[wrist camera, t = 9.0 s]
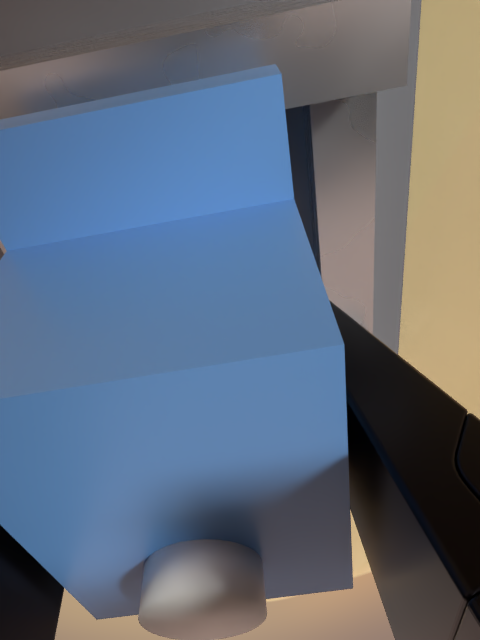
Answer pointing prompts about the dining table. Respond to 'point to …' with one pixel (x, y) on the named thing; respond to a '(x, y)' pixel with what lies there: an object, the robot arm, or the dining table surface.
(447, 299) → the dining table surface
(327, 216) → the grey shallow tray
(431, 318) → the dining table surface
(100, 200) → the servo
